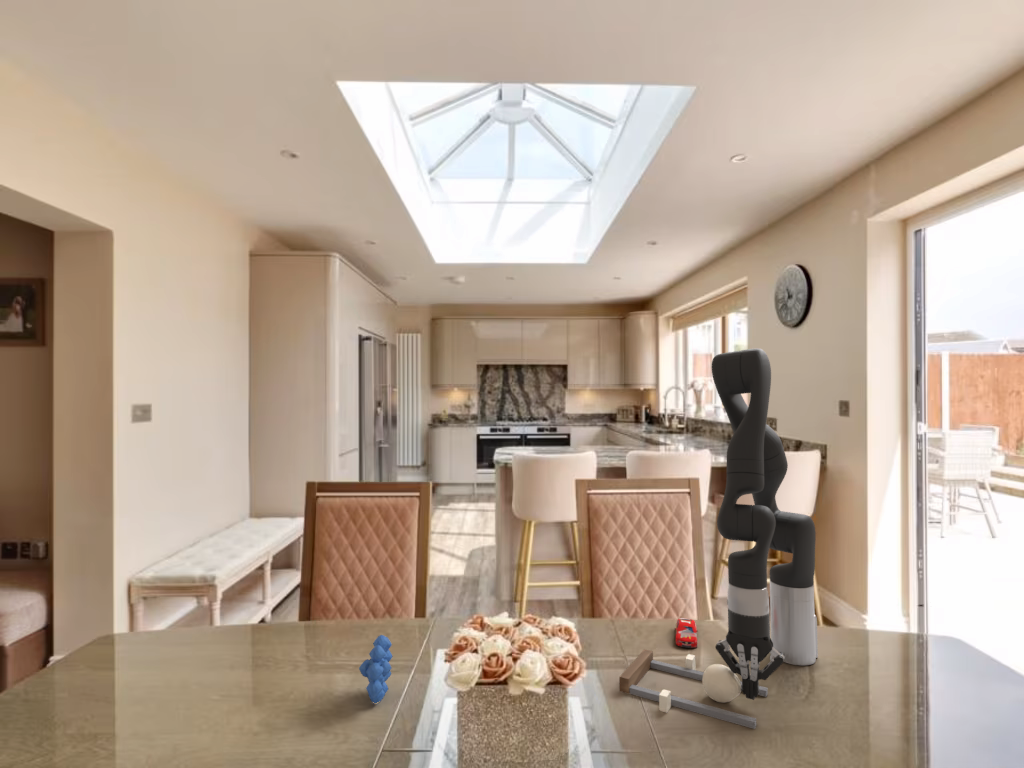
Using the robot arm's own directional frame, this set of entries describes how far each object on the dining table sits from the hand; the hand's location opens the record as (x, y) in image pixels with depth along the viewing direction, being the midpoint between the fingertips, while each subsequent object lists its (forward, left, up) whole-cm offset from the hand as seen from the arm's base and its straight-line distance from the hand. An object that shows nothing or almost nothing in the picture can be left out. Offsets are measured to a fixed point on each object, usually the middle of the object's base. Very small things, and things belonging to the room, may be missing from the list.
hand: (750, 697), depth 110 cm
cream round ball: (+3, -5, -2) cm, 6 cm away
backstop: (+11, -20, -2) cm, 23 cm away
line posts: (+7, -12, -2) cm, 14 cm away
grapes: (+63, -39, -2) cm, 75 cm away
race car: (-12, -30, -3) cm, 32 cm away
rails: (+5, -9, -2) cm, 10 cm away
